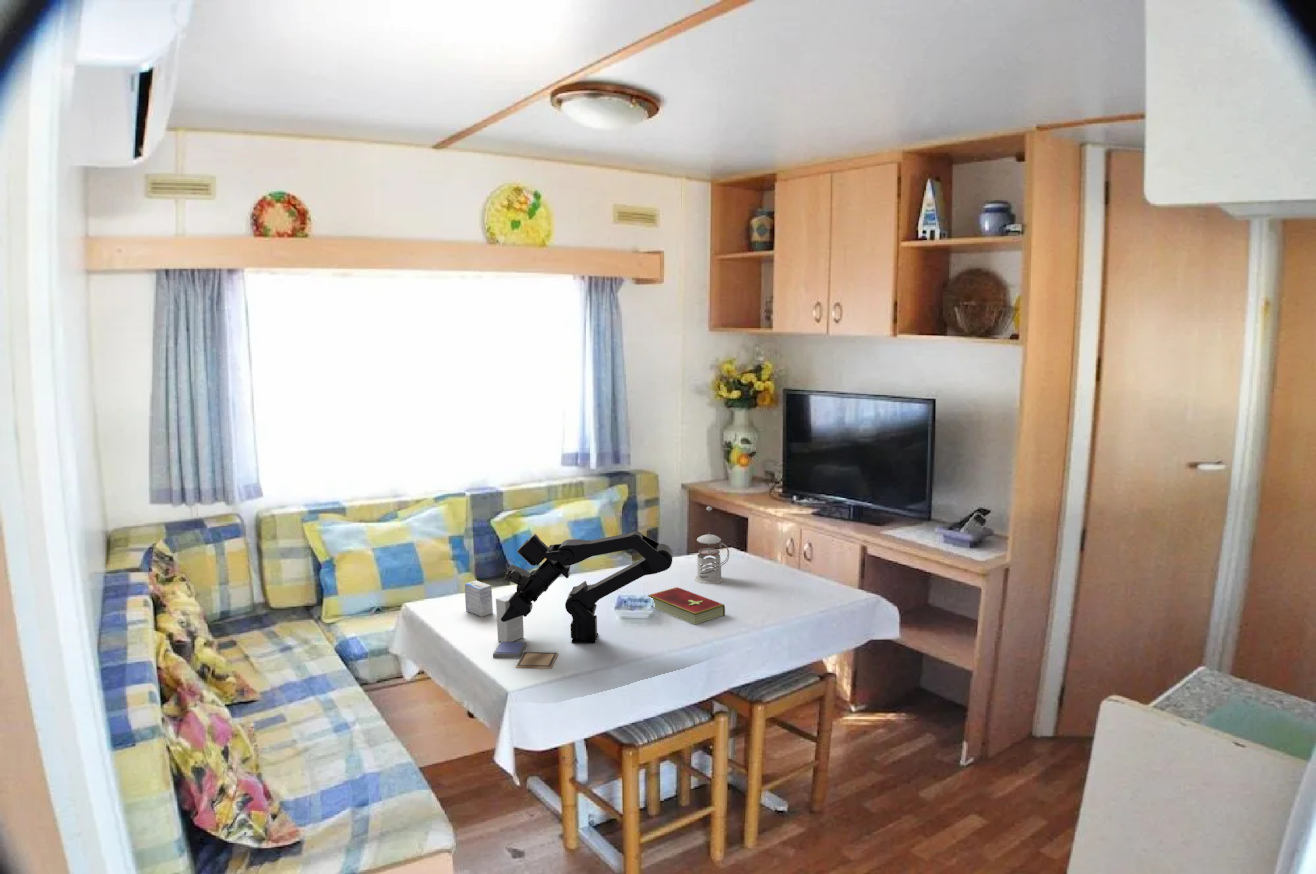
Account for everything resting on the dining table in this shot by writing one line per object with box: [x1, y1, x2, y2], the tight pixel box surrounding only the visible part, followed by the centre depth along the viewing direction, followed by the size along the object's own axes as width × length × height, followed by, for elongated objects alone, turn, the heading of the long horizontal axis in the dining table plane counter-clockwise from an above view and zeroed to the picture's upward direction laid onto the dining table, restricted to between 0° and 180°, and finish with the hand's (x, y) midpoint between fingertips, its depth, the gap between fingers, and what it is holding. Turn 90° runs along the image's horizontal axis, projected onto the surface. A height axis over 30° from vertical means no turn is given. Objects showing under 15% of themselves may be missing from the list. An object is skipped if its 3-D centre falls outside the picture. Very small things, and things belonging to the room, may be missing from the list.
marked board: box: [515, 651, 559, 669], centre depth 216 cm, size 9×9×1 cm
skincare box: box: [495, 592, 525, 642], centre depth 230 cm, size 6×4×12 cm
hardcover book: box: [648, 586, 726, 625], centre depth 252 cm, size 12×21×4 cm, turn 40°
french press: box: [694, 506, 730, 585], centre depth 279 cm, size 10×12×25 cm
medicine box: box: [464, 580, 494, 617], centre depth 251 cm, size 8×4×9 cm, turn 47°
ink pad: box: [492, 641, 527, 659], centre depth 222 cm, size 7×8×1 cm
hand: (504, 615), depth 230 cm, fingers closed on skincare box, 7 cm apart
